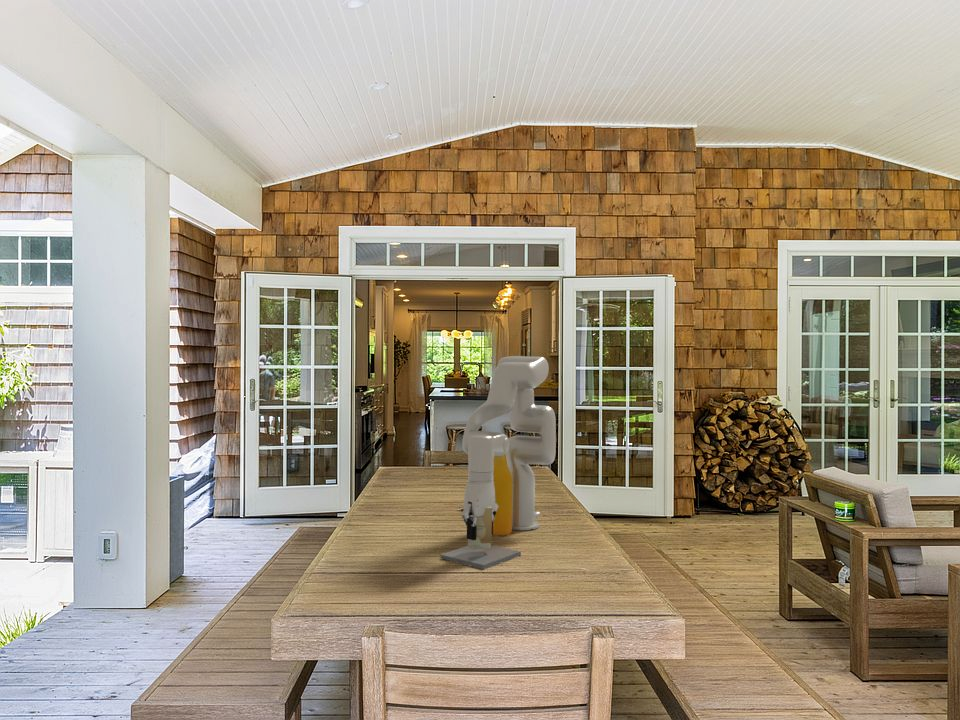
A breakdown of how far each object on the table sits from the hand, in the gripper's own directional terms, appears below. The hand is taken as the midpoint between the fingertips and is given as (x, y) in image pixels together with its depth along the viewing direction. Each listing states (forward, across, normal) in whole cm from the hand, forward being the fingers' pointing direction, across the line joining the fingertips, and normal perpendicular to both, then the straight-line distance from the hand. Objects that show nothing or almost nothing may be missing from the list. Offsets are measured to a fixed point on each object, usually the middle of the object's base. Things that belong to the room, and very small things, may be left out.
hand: (480, 536), depth 207 cm
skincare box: (+4, 0, 0) cm, 4 cm away
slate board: (+6, 0, 0) cm, 6 cm away
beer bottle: (+6, -27, -13) cm, 31 cm away
